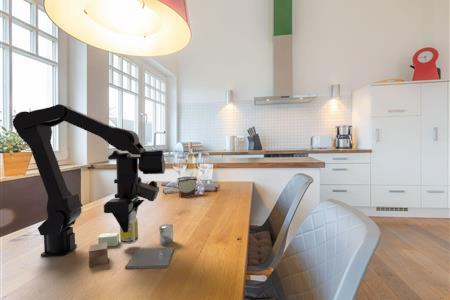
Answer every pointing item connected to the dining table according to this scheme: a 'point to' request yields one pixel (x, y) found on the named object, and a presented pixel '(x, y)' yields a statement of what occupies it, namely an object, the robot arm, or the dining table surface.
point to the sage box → (109, 239)
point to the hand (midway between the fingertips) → (128, 229)
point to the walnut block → (98, 254)
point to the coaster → (150, 258)
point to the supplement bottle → (130, 230)
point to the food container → (186, 186)
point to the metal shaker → (166, 234)
